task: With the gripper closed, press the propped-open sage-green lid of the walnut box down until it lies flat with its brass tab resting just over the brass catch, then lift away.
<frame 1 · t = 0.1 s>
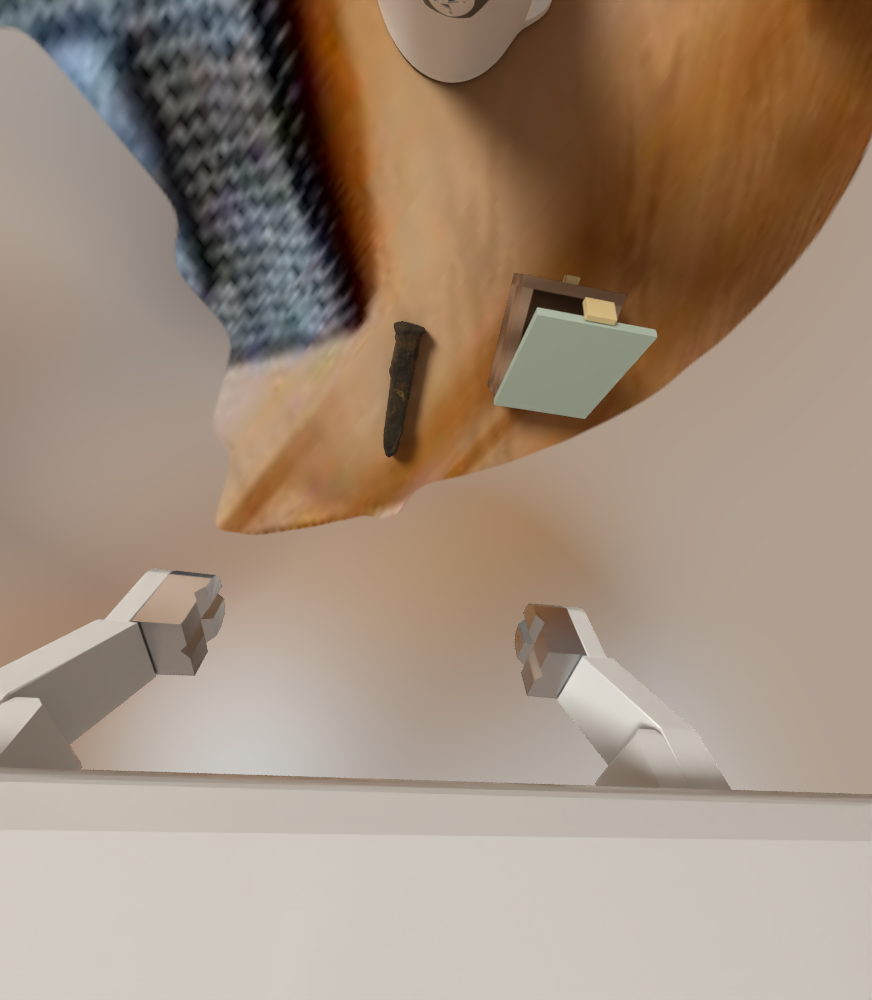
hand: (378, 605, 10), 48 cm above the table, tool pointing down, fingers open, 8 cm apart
lid: (565, 363, 44), point 11 cm above the table, hinge at 35.0°
box: (542, 340, 52), on the table
dark brown rough bar: (403, 391, 56), on the table
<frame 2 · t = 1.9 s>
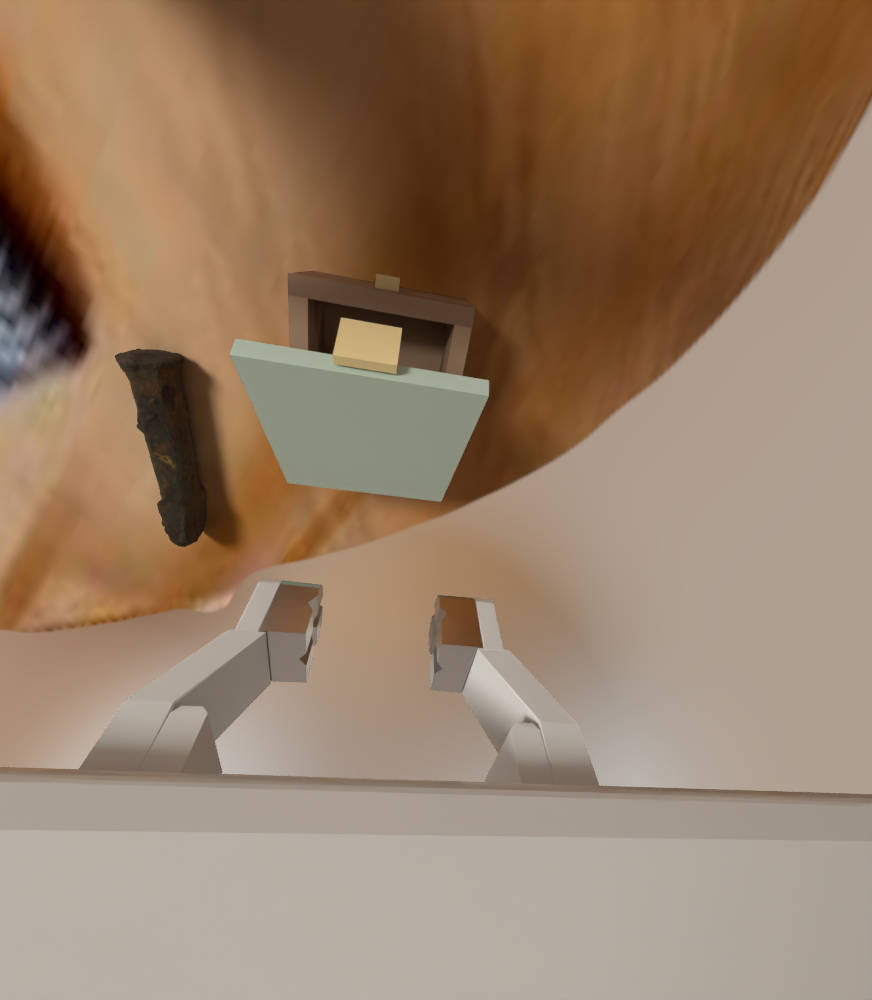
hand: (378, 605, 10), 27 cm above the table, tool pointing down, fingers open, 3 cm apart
lid: (368, 428, 25), point 11 cm above the table, hinge at 35.0°
box: (382, 375, 34), on the table
dark brown rough bar: (193, 449, 37), on the table
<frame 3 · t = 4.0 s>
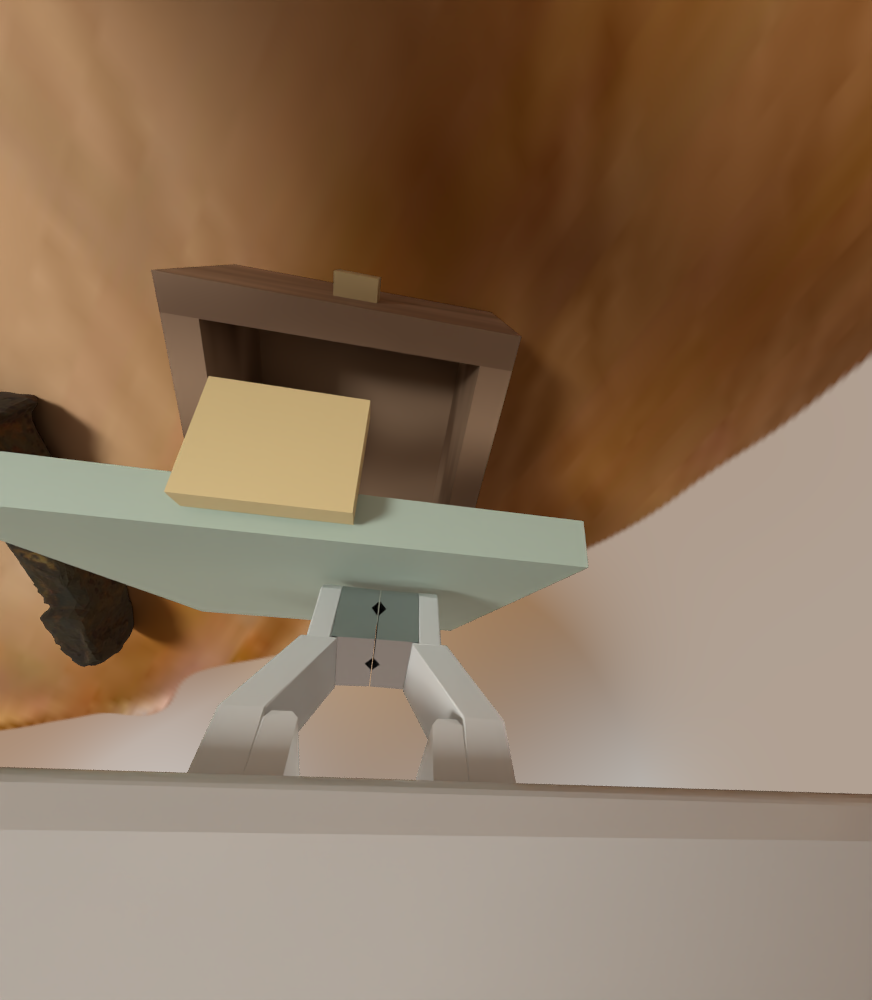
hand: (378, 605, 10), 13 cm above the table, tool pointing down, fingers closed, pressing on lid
lid: (320, 557, 13), point 10 cm above the table, hinge at 33.3°, touching gripper
box: (359, 427, 22), on the table
dark brown rough bar: (94, 528, 25), on the table
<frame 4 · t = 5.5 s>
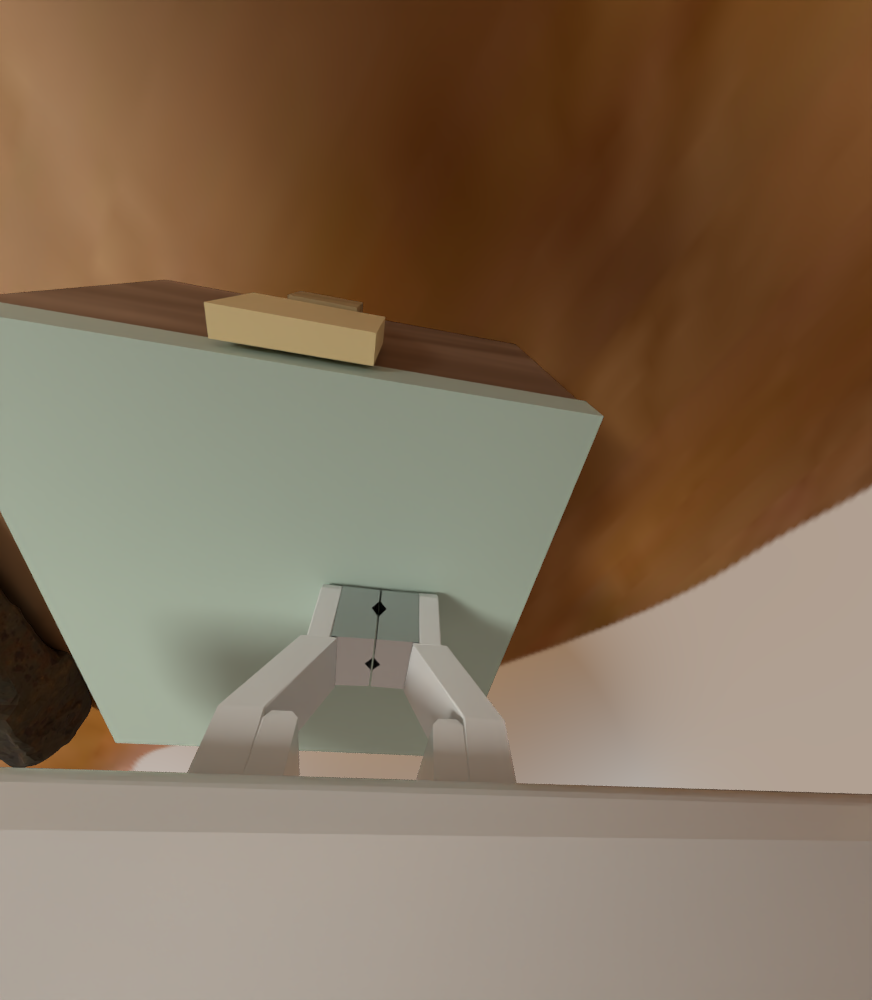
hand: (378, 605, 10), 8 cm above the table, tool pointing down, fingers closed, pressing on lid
lid: (306, 578, 12), point 6 cm above the table, hinge at -0.4°, touching box, gripper
box: (341, 485, 17), on the table
dark brown rough bar: (25, 598, 20), on the table
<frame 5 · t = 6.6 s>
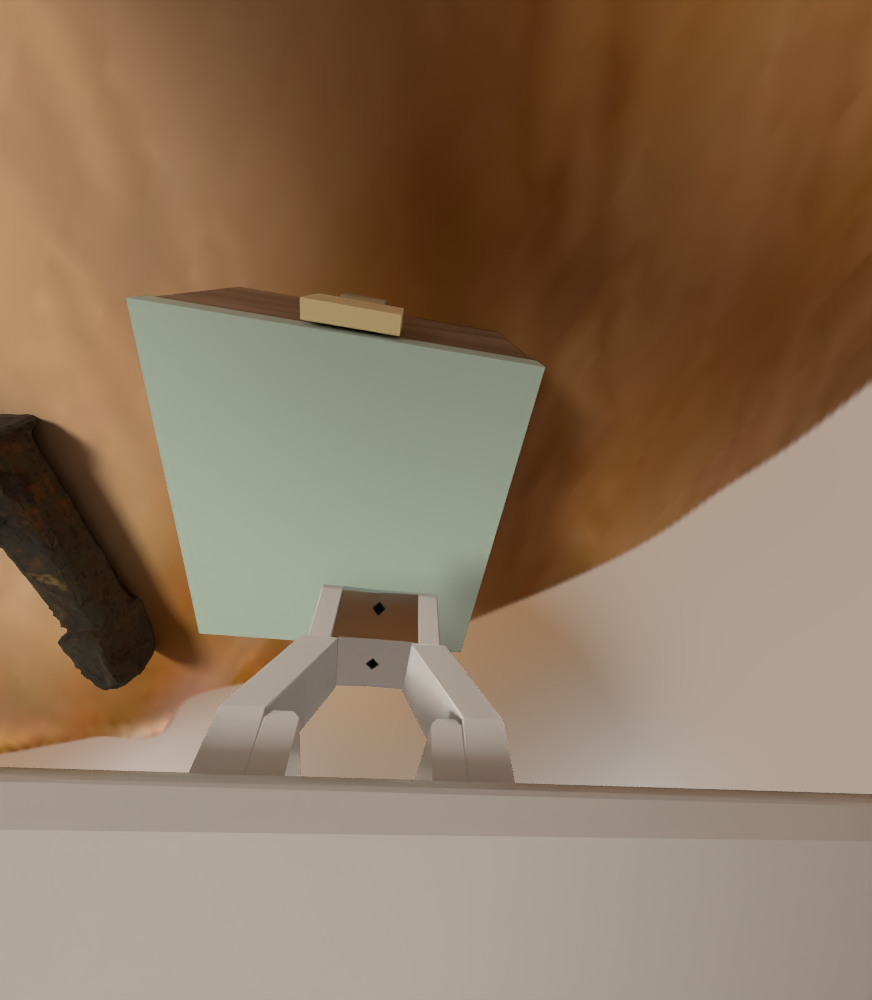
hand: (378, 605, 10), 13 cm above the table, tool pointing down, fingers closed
lid: (346, 499, 16), point 6 cm above the table, hinge at -0.4°, touching box
box: (363, 447, 21), on the table
dark brown rough bar: (106, 548, 25), on the table
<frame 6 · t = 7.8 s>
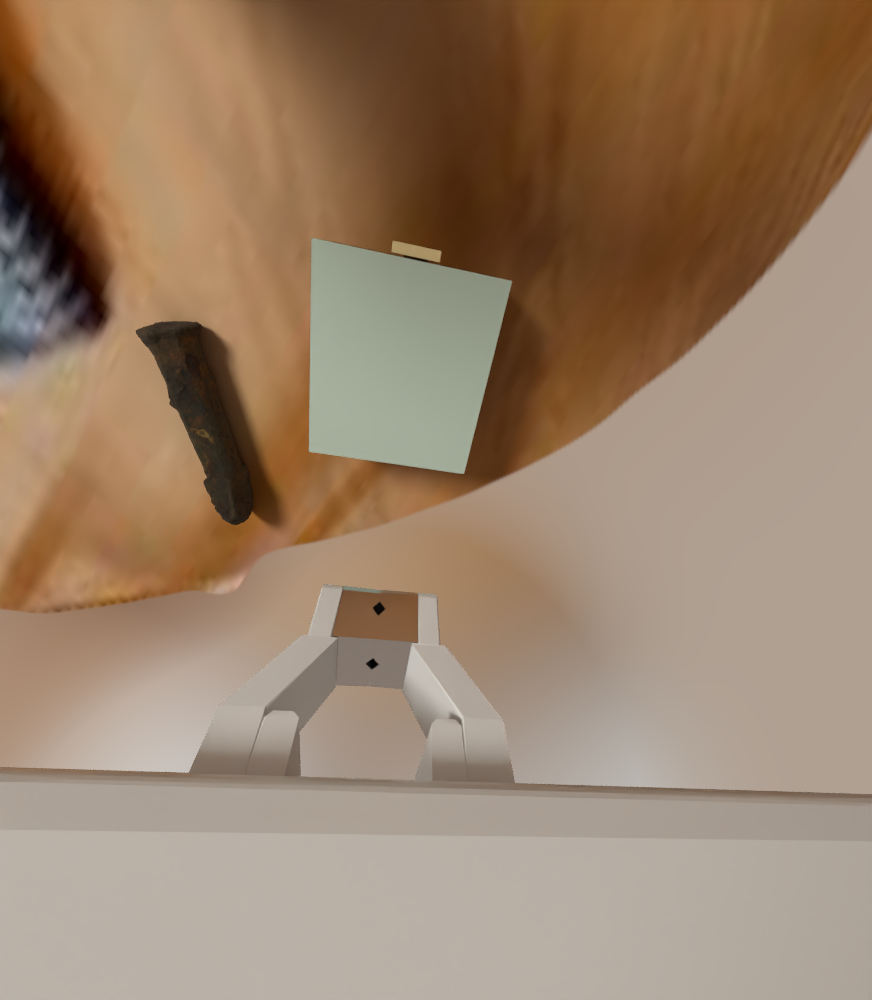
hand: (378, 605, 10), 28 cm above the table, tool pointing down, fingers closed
lid: (401, 365, 28), point 6 cm above the table, hinge at -0.4°, touching box
dark brown rough bar: (227, 425, 37), on the table
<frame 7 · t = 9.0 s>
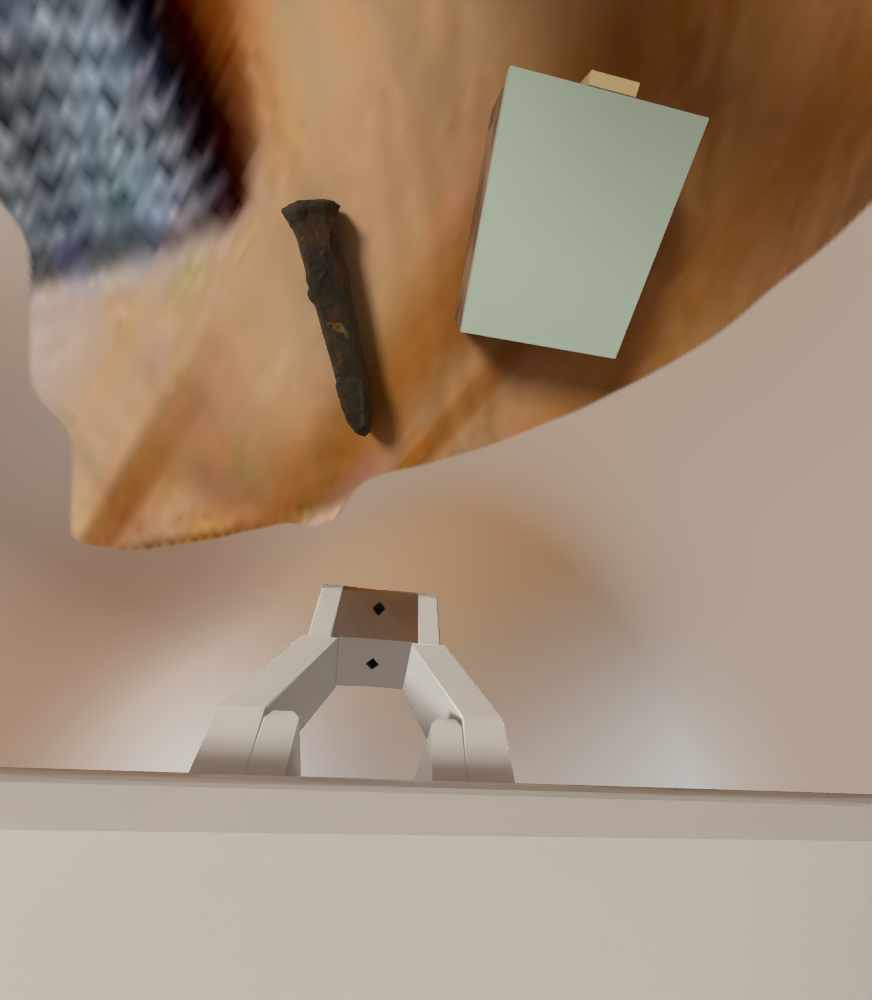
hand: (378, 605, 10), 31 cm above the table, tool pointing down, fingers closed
lid: (566, 231, 27), point 6 cm above the table, hinge at -0.4°, touching box
box: (541, 241, 32), on the table
dark brown rough bar: (351, 330, 36), on the table
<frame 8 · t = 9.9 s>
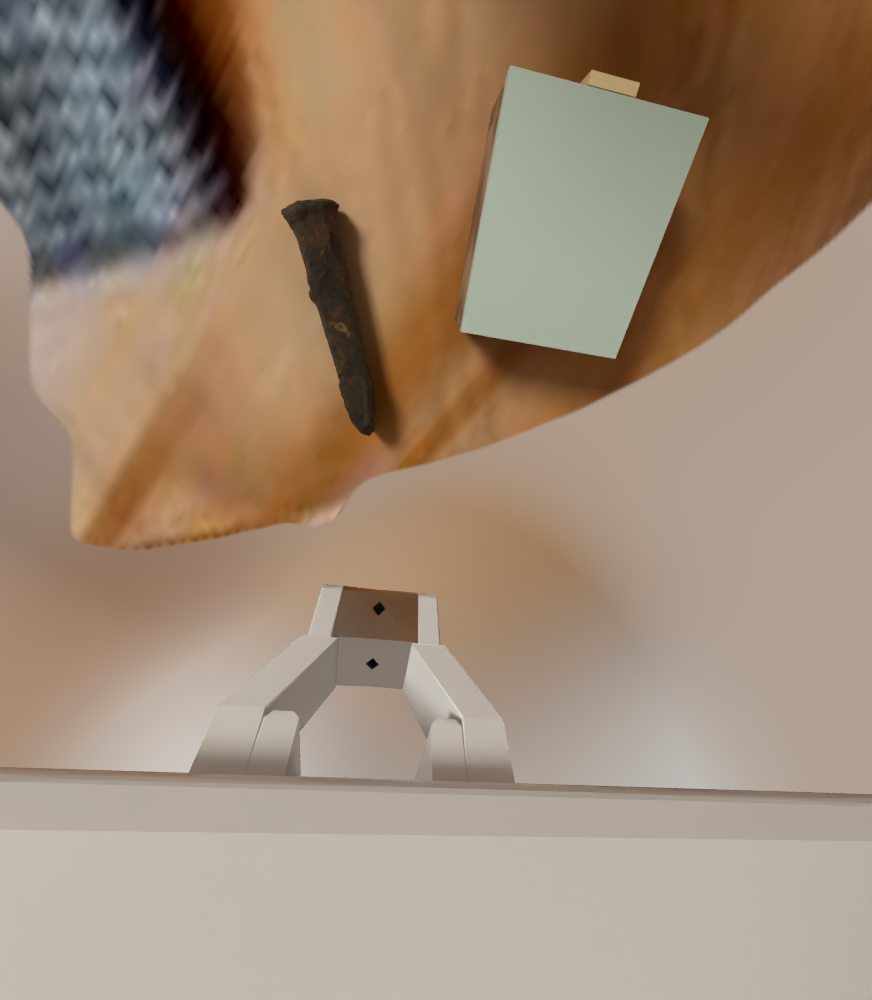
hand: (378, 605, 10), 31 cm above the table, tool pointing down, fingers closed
lid: (566, 231, 27), point 6 cm above the table, hinge at -0.4°, touching box
box: (541, 241, 32), on the table
dark brown rough bar: (353, 329, 36), on the table
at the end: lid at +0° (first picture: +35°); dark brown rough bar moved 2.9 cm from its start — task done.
